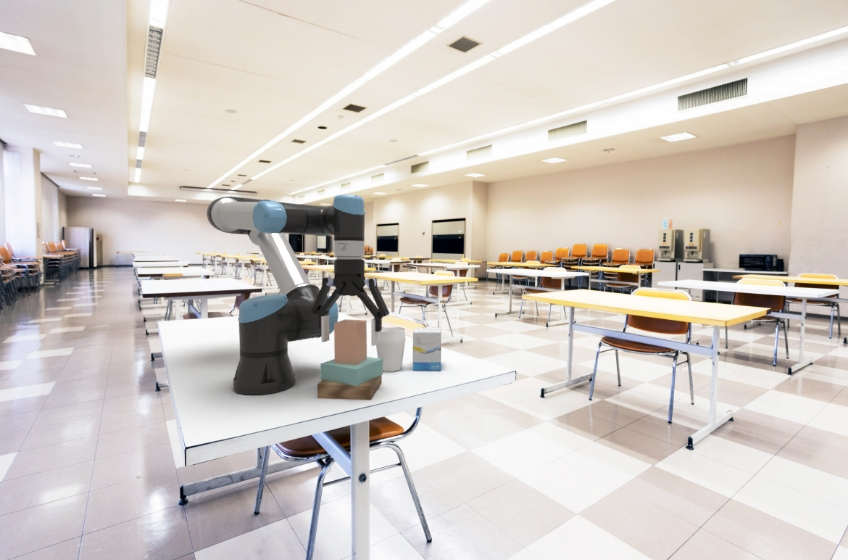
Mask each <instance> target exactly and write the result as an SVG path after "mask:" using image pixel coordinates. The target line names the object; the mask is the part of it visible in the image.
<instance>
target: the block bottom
mask: <svg viewBox="0 0 848 560" xmlns="http://www.w3.org/2000/svg"><path fill="white" fill-rule="evenodd" d="M382 376H383V374H382V375H380V376H378V377H376V378H374V379H371V380H369V381H367V382H365V383H363V384H360V385H358V386H353V385H348V384H342V383H337V382H331V381H326V380H321V379H320V381H319V382H318V383H317V385H316V388H317V389H316V392H317V393H316V395H317V396H316V397H317V399H329V400H331V399H332V400H358V401H359V400H362V401H372V399H373V398H374V396H375V395H376V393H377V391H378V390H379V388H380V386H381V385H382V379H383V377H382Z"/></svg>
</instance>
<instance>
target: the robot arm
mask: <svg viewBox="0 0 848 560" xmlns="http://www.w3.org/2000/svg"><path fill="white" fill-rule="evenodd" d="M365 211H366V210H365V200H364V198H363V197H362V196H360V195H356V194H338V195H335V196H334V198H333V202H332V205H329V206H328V205H327V206H322V205H314V204H313V205H311V204H304V203H303V204H301V203H291V202H285V201H284V202H282V201H276V200H271V199H260V198H259V199H258V198H249V197H240V196H222V197H218V198H216V199H214V200H212V201H211V202H210V203H209V205H208V206H207V209H206V219H207V220H208V222H209V224H210V225H211V226H212V227H213V228H214V229H216V230H217V231H219V232H222V233H226V234H231V235H247V236H248V238H249V240H250V242H251V243H252V244H254V245H255V246H258V247H259V249H260V252H261V254H262V256H263V258H264V259H265V262H266V264H267V265H268V268H269V269H270V272H271V274H272V276H273V278H274V280H275V283H276V285H277V286H278V289H279V290H280V293H274V294H263V295H258V296H253V297H250V298H247V299H245V300H243V301H242V302H241V303H240V304H239V307H238V310H239V311H238V318H237V322H238V331H239V332H238V334H239V335H238V336H239V337H238V338H239V360H238V364H237V367H236V370H235V373H234V377H233V379H232V388H233V391H234V393H238V394H242V395H268V394H273V393H278V392H282V391H285V390H288V389H290V388H291V387H293V386H294V385H296V373H295V371H294V369H293V365H292V361H291V360H290V357H289V349H288V345H289V343H292V342H297V341H303V340H309V339H320V338H321V343H326V342H329V341H330V335H331V334H332V333H334V323H336V322H339V307H338V303H337V300H339V299H340V297H341V296H342V297H346V296H350V297H357V298H358V299H360V301H361V302H362V303H363V305H364V306H365V307H366V308H367V310H368V311H369V313H370V314H371V316H372V317H373V318H371V320H370V321H371V324H370V325H371V326H370V327H371V331H370V333H371V338H370V340H371V341H370V342H371V344H370V345H371V347H373V346H376V345H377V344H378V332H380V331H381V330H382V327H383V325H382V324H383V318H384V317H388V316H389V315H390V311H389V309H388V306H387V305H386V302H385V300H384V299H383V296H382V294H381V291H380V290H379V286H378V281H377V280H378V279H377V278H375V277H371V278H368V279H366V276H365V274H366V273H365V266H366V265H365V264H366V263H365V261H366V260H365V259H363V258H364V257H365V255H366V253H365V250H366V249H365V246H366V245H365V232H366V231H365V227H366V226H365V224H366V223H365V219H366V217H365V216H366V212H365ZM287 234H288V235H307V236H314V237H315V236H316V237H327V236H333V256H334V258H336V259H334V260H333V273H334V277H333V278H332V277H330V276H327V277H322V279H321V280H322V282H321V283H322V284H321V287H320V288H319V286H318V285H316V284H314V283H311V281H310V280H309V278H308V277H307V274H306V272H305V271H304V269H303V267H302V264H301V263H300V261H299V259H298V257H297V255H296V253H295V251H294V250H293V248H292V246H291V243H289V240H288V239H287V237H286V235H287ZM332 286H334V287H335V289H334V290H333V292H331V295H329V292H330V289H331V287H332ZM365 286H367V288H369V292H370V293H371V296H372V298H373V300H374V301H373V300H372V299H371V297H370V296H369V294H368V292H367V291H366V290H365Z"/></svg>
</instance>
